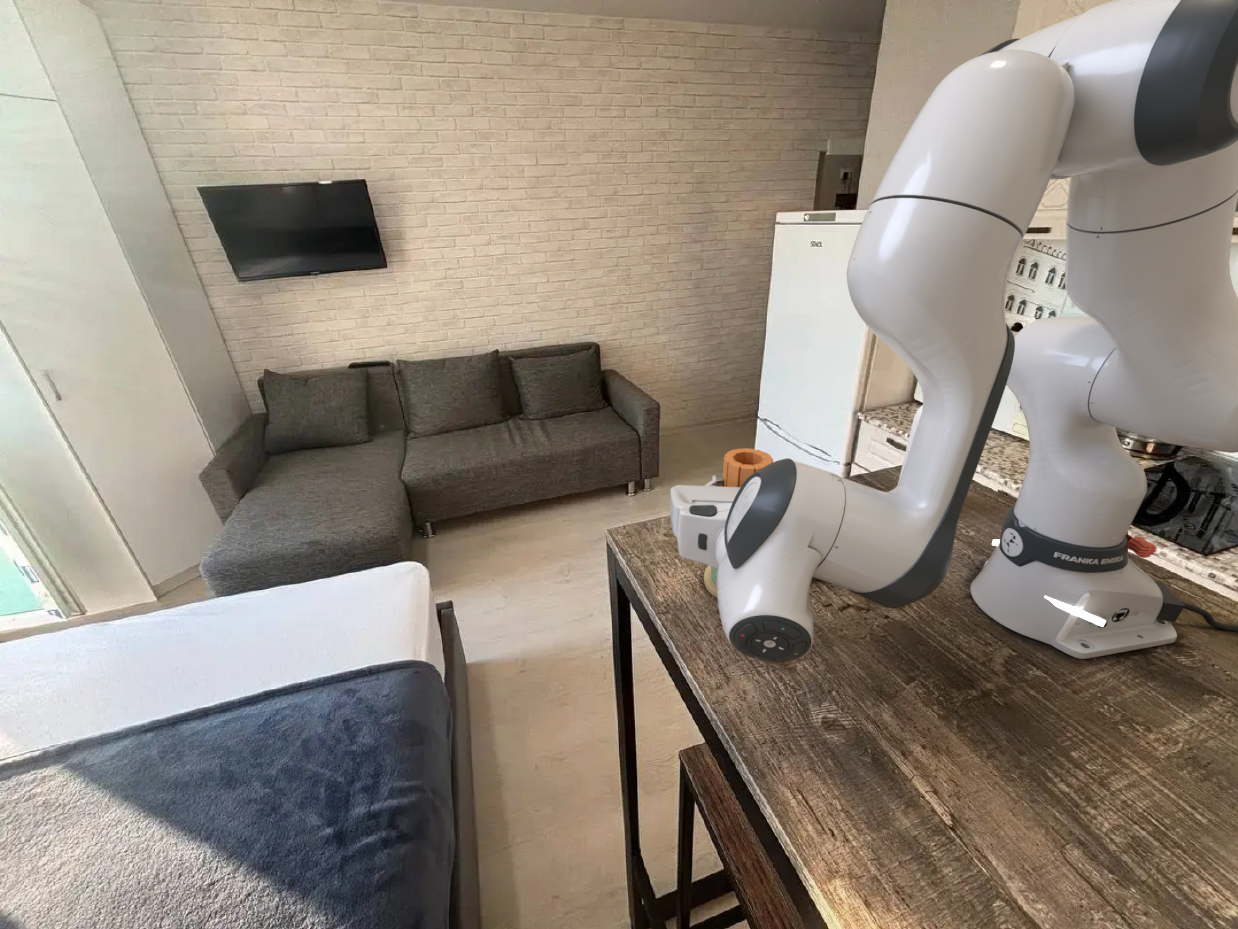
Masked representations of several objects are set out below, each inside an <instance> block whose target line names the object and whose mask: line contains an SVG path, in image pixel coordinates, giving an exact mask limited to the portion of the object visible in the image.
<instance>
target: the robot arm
mask: <svg viewBox="0 0 1238 929" xmlns="http://www.w3.org/2000/svg"><path fill="white" fill-rule="evenodd" d="M1068 178H1069V183H1068V192H1067V200H1066V202H1067V203H1066V220H1065V224H1066V225H1065V257H1064V259H1065V261H1064V264H1065V265H1064V286H1065V291H1066V294H1067V295H1068V297H1069V299H1070V300H1071V303H1073V304H1074V305H1075V307H1076V308H1078V309H1079V310H1080V311H1081V312H1083V313H1084V316H1083V315H1082V316H1081V315H1080V316H1053V317H1052V316H1050V317H1041V318H1037V319H1035V320H1033V321H1032V322H1030V323H1028V324H1027V325H1025V326H1024V327H1023V328H1021V329H1020V330H1019V331H1018V332H1017V333H1016V334H1015V335H1014V333H1013V331H1012V330H1011V328H1010V327H1009V325H1008V324H1007V321H1006V308H1005V307H1006V292H1007V284H1008V280H1009V274H1010V270H1011V267H1012V264H1013V261H1014V258H1015V257H1016V253H1017V251H1018V249H1019V248H1020V245H1021V243H1022V241H1023V239H1024V238H1025V235H1026V233H1027V231H1028V229H1029V227H1030V226H1031V223H1032V221H1033V219H1034V217H1035V215H1036V212H1037V210H1038V208H1039V206H1040V203H1041V202H1042V199H1043V198H1044V194H1045V192H1046V190H1047V188H1048V185H1049V183H1050V181H1052V180H1053V181H1054V180H1065V179H1068ZM1237 204H1238V0H1111V1H1107V2H1105V3H1104V2H1103V3H1101V4H1098V5H1096V6H1093V7H1091V8H1090V9H1088V10H1087V11H1085V12H1083V13H1081V14H1078V15H1074V16H1073V17H1069V18H1067V19H1064V20H1062V21H1059V22H1057V23H1054V24H1051V25H1048V26H1046V27H1044V28H1041V29H1039V30H1037V31H1034V32H1033V33H1030V34H1028V35H1026V36H1024V37H1022V38H1011V39H1008V40H1005V41H1003V42H1001V43H999V44H997V45H995V46H993V47H991V48H989V49H987V50H986V51H984V52H982V53H981V54H980V55H978V56H976V57H974V58H971V59H969V60H967V61H965V62H964V63H962V64H960V65H958V66H957V67H956V68H955V69H953V70H952V71H951V72H949V73H948V74H946V76H945V77H944V78H943V79H942V80H941V81H940V82H939V83H938V84H937V86H936V87H935V88H934V90H933V91H932V92H931V94H930V95H929V97H928V98H927V100H926V102H925V103H924V105H923V106H922V108H921V109H920V111H919V112H918V114H917V116H916V117H915V119H914V120H913V121H912V124H911V125H910V127H909V129H908V130H907V132H906V134H905V135H904V137H903V139H902V140H901V142H900V144H899V146H898V147H897V150H896V152H895V153H894V155H893V157H892V159H891V161H890V162H889V164H888V167H887V168H886V170H885V173H884V174H883V177H882V178H881V181H880V182H879V185H878V186H877V188H876V191H875V194H873V197H872V199H871V202H870V204H869V207H868V209H867V211H866V214H865V215H864V217H863V220H862V222H861V224H860V227H859V229H858V232H857V234H856V237H855V240H854V243H853V246H852V249H851V252H850V255H849V260H848V264H847V268H846V283H847V289H848V295H849V297H850V300H851V302H852V304H853V307H854V309H855V310H856V312H857V314H858V316H859V317H860V319H861V320H862V322H863V323H864V325H865V326H866V327H867V328H868V329H869V330H870V332H872V333H873V335H875V336H876V337H877V338H878V339H879V340H880V341H881V342H882V343H883V344H885V345H886V347H888V348H889V349H890V350H891V351H892V352H893V353H894V354H895V355H897V356H898V358H900V359H901V360H902V361H903V363H905V365H906V366H907V367H908V368H909V370H910V371H911V372H912V374H913V375H914V376H915V378H916V380H917V382H918V384H919V386H920V389H921V394H922V405H923V409H922V414H921V417H920V420H919V423H918V427H917V430H916V433H915V436H914V439H913V442H912V445H911V448H910V451H909V455H908V458H907V461H906V464H905V467H904V470H903V473H902V476H901V479H900V482H899V484H898V483H897V486H895V487H894V488H893V489H891V490H889V491H884V490H883V491H882V490H879V489H877V488H874V487H871V486H869V485H865V484H861V483H859V482H856V481H853V480H851V479H848V478H845V477H842V476H840V475H838V474H837V473H834V472H831V471H829V470H825V469H822V468H819V467H816V466H814V465H810V464H807V463H805V462H800V461H797V460H794V459H791V458H790V457H789V458H783V459H779V460H775V461H773V463H771V464H769V465H767V466H765V467H763V468H762V469H760V470H758V471H757V472H755V473H754V474H752V475H751V476H749V477H748V478H747V479H746V481H745V482H744V483H743V485H742V486H741V487H723V475H714V474H713V475H712V476H711V480H710V481H708V482H707V483H705V484H704V485H695V484H693V485H692V484H677V485H674V486H672V487H671V488H670V490H669V492H670V493H669V518H670V527H671V531H672V534H673V535H674V537H675V538H676V540H677V542H676V543H677V550H678V555H679V556H680V557H681V558H683V559H685V560H690V561H693V562H697V563H700V564H703V565H707V566H708V565H709V566H712V567H714V568H717V569H718V572H717V597H718V598H717V605H718V612H719V617H720V622H721V626H722V630H723V633H724V635H725V636H726V639H727V641H728V643H729V644H730V645H731V646H732V648H734V649H735V650H736V651H737V652H738V653H740V654H741V655H745V656H746V657H749V658H752V659H754V660H758V661H762V662H765V663H771V664H772V663H773V664H776V663H788V662H792V661H795V660H799V659H800V658H802V657H804V656H805V655H806V654H808V653H809V652H810V650H811V649H812V647H813V644H814V639H815V638H814V637H815V624H814V612H813V606H812V599H811V598H812V597H811V594H810V587H811V583H812V580H813V578H814V579H817V580H820V581H823V582H826V583H829V584H832V585H835V586H837V587H840V588H843V589H846V590H848V591H849V592H851V593H853V594H855V595H857V596H859V597H861V598H864V599H866V600H869V601H871V602H873V603H875V604H878V605H880V606H882V607H883V608H888V609H897V608H902V607H905V606H908V605H910V604H911V605H912V604H913V603H915V602H917V601H920V600H921V599H924V598H926V597H927V596H929V595H930V594H931V593H933V592H934V591H935V590H936V589H937V588H939V586H940V585H941V584H942V583H943V581H944V580H945V578H946V576H947V574H948V571H949V568H950V565H951V563H952V562H951V561H952V558H953V553H954V546H955V538H956V533H957V528H958V523H959V519H960V516H961V512H962V510H963V507H964V504H965V501H966V498H967V495H968V493H969V491H970V488H971V485H972V482H973V480H974V476H975V474H976V471H977V468H978V465H979V462H980V461H981V458H982V454H983V452H984V449H985V446H986V444H987V442H988V438H989V436H990V433H991V430H992V427H993V424H994V422H995V419H996V416H997V413H998V410H999V408H1000V404H1001V401H1002V397H1003V395H1004V392H1005V389H1006V386H1007V387H1008V389H1009V390H1010V391H1011V392H1012V394H1013V395H1014V397H1015V398H1016V400H1017V402H1018V404H1019V406H1020V408H1021V410H1022V414H1023V416H1024V419H1025V423H1026V427H1027V428H1026V429H1027V433H1028V442H1029V454H1028V461H1027V466H1026V468H1025V469H1026V470H1025V473H1024V476H1023V479H1022V480H1023V481H1022V483H1021V486H1020V489H1019V493H1018V495H1017V499H1016V501H1015V503H1013V504H1011V506H1010V508H1009V509H1008V512H1007V514H1006V517H1005V519H1004V521H1003V523H1002V527H1001V532H1000V538H999V539H992V543H991V545H992V546H995V547H994V549H993V551H992V553H991V555H990V556H989V558H988V559H987V560H986V561H985V562H984V564H983V566H982V569H981V571H980V572H979V573H978V575H976V577H975V578H974V579H973V580H972V581H971V583H970V588H969V590H970V595H971V597H972V599H973V601H974V602H975V603H976V605H978V607H979V609H981V610H982V611H983V612H984V613H985V614H986V615H987V616H989V617H990V619H993V620H994V621H996V622H997V623H999V624H1000V625H1002V626H1004V627H1006V628H1008V629H1009V630H1011V631H1013V632H1015V633H1018V634H1020V635H1022V636H1025V637H1027V638H1031V639H1033V640H1037V641H1038V642H1039V641H1040V642H1042V643H1045V644H1048V645H1049V646H1051V647H1053V648H1055V649H1057V650H1058V651H1061V652H1063V653H1064V654H1066V655H1068V656H1070V657H1073V658H1075V659H1080V660H1086V659H1092V658H1098V657H1102V656H1109V655H1113V654H1119V653H1125V652H1131V651H1137V650H1142V649H1147V648H1153V647H1157V646H1163V645H1170V644H1173V643H1175V642H1176V640H1177V639H1178V633H1177V631H1176V629H1175V627H1174V626H1173V624H1172V623H1176V621H1177V619H1178V618H1179V616H1180V614H1181V613H1182V612H1183V610H1188V611H1190V612H1193V613H1196V614H1197V615H1200V616H1201V617H1202V618H1203V619H1204V620H1205V622H1206V623H1207V624H1208V625H1210V626H1211V627H1213V628H1215V629H1219V630H1221V631H1227V632H1233V633H1234V632H1235V633H1236V632H1237V633H1238V625H1231V624H1225V623H1221V622H1218V621H1216V620H1215V619H1214V617H1213V616H1212V615H1211V613H1210V612H1208V611H1206V610H1205V609H1203V608H1201V607H1199V606H1196V605H1195V604H1194V605H1193V604H1191V603H1187V602H1183V601H1181V600H1180V599H1179V598H1178V597H1177V596H1176V595H1175V594H1174V592H1172V591H1171V590H1170V589H1169V587H1167V586H1166V585H1165V584H1164V582H1162V581H1157V580H1154V579H1152V578H1151V577H1150V576H1149V575H1148V574H1147V573H1146V572H1145V571H1144V570H1142V569H1141V568H1140V567H1139V566H1138V565H1137V564H1135V562H1134V561H1132V560H1131V559H1130V558H1129V551H1133V553H1134V554H1136V555H1137V556H1138V557H1139V558H1142V559H1147V558H1150V557H1151V556H1153V555H1155V553H1157V549H1158V548H1157V545H1156V544H1154V543H1152V542H1150V541H1147V540H1146V538H1144V537H1142V536H1134V537H1133V536H1132V535H1131V534H1129V529H1130V527H1131V526H1132V523H1133V521H1134V519H1135V517H1136V515H1137V513H1138V511H1139V509H1140V506H1141V505H1142V503H1143V501H1144V499H1145V497H1146V495H1147V492H1148V480H1147V479H1148V478H1147V475H1146V472H1145V471H1144V469H1143V467H1142V466H1141V465H1140V464H1139V462H1138V461H1137V460H1136V459H1135V458H1134V457H1132V455H1131V454H1129V453H1128V451H1127V450H1126V449H1125V448H1124V446H1123V444H1122V443H1121V441H1120V439H1119V436H1118V432H1117V429H1120V430H1123V431H1126V432H1130V433H1133V434H1136V435H1139V436H1143V437H1146V438H1149V439H1151V440H1152V439H1153V440H1155V441H1159V442H1162V443H1165V444H1168V445H1175V446H1180V447H1187V448H1193V449H1199V450H1206V451H1214V452H1222V453H1229V454H1235V453H1238V295H1237V293H1236V291H1235V288H1234V285H1233V281H1232V277H1231V276H1232V275H1231V270H1230V268H1231V266H1230V260H1231V258H1230V257H1231V248H1232V239H1233V238H1232V237H1233V228H1234V223H1235V215H1236V210H1237ZM1085 315H1086V316H1085Z"/></svg>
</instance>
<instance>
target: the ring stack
mask: <svg viewBox="0 0 1238 929" xmlns="http://www.w3.org/2000/svg"><path fill="white" fill-rule="evenodd" d="M717 572H718V569H717V568H714V567H712V566H709V565H707V567H705V570H704V572H703V583H704V585H705V588H706V590H707V591H708V593H709V594H711V595H712V596H713V597H714V598H716V599H718V597H717Z"/></svg>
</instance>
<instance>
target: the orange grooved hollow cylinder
mask: <svg viewBox="0 0 1238 929" xmlns="http://www.w3.org/2000/svg"><path fill="white" fill-rule="evenodd" d="M773 462H774V458H773V457H772V456H771V454H770V453H768V452H765V451H762V450H760V449H756V448H749V447H748V448H747V447H743V448H736V449H731V450H728V451H727V452H726V453H725V454H724V455H723V466H722V467H723V469H722V476H723V487H741V486H742V485H743V483H744V482H745V481H746V479H747V478H748V477H749V476H751V475H752V474H754V473H755V472H757V471H758V470H760V469H762V468H763V467H765V466H767V465H769V464H771V463H773Z"/></svg>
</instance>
